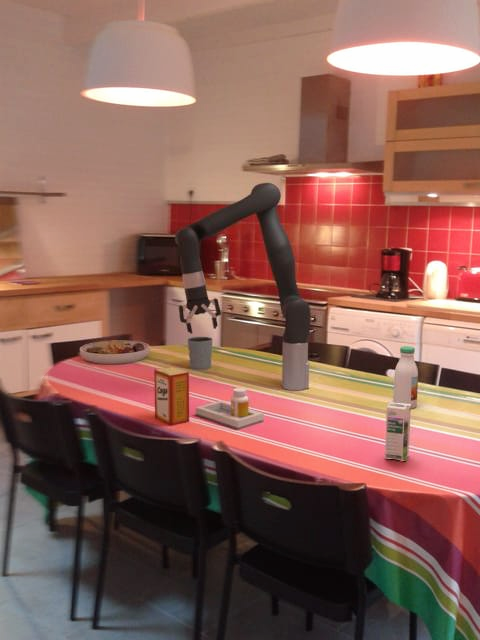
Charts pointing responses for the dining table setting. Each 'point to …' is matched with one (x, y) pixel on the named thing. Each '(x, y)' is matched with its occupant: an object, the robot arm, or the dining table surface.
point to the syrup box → (397, 431)
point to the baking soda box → (171, 395)
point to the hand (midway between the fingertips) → (203, 330)
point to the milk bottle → (406, 378)
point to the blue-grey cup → (200, 352)
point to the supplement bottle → (239, 403)
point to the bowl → (114, 351)
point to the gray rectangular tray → (228, 415)
